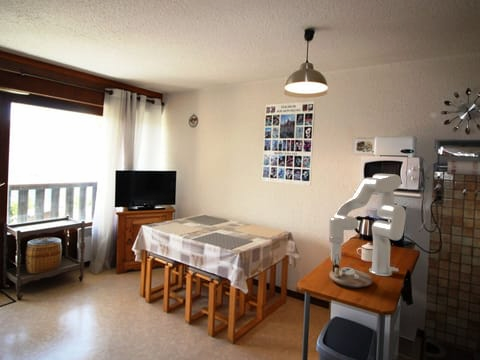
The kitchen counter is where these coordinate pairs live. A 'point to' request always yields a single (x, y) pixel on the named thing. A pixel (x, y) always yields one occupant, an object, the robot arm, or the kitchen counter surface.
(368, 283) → the disc
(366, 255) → the teacup with lid
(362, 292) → the kitchen counter surface
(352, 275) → the cover
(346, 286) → the turntable base
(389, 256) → the robot arm
